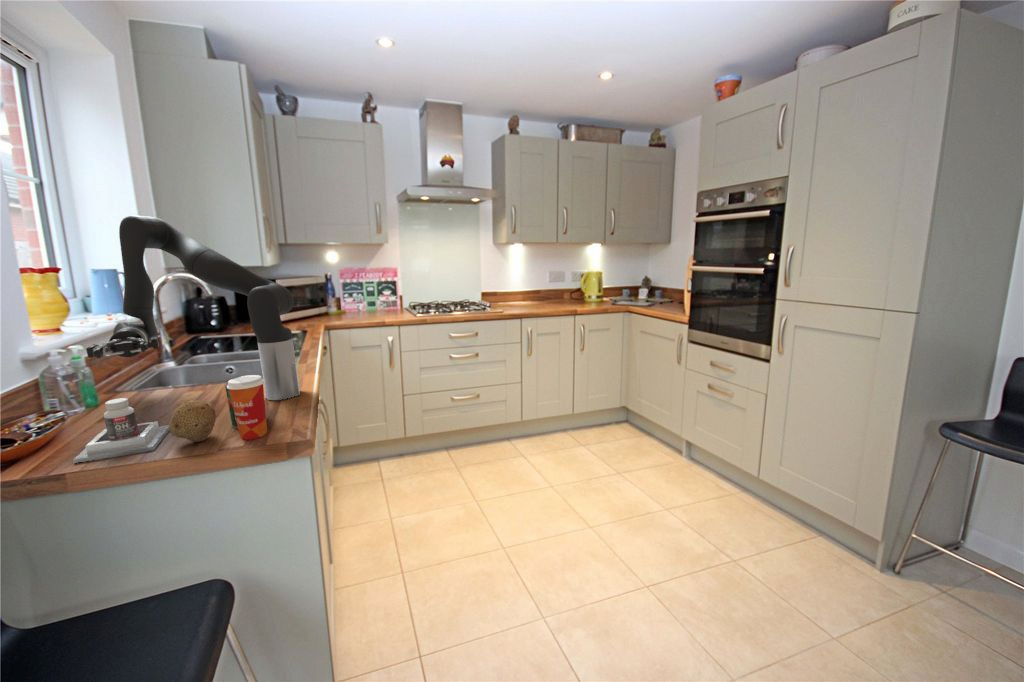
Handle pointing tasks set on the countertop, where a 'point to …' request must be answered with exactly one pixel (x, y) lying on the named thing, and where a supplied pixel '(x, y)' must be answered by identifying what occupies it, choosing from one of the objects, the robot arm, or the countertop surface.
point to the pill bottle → (120, 419)
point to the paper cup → (248, 405)
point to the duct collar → (123, 443)
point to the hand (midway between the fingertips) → (120, 350)
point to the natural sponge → (193, 420)
